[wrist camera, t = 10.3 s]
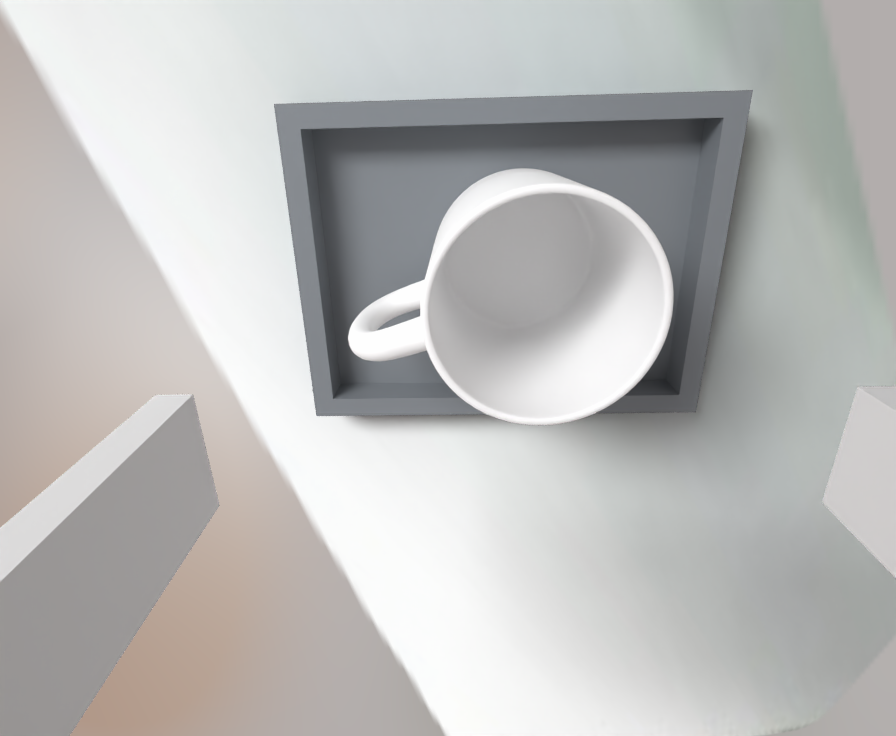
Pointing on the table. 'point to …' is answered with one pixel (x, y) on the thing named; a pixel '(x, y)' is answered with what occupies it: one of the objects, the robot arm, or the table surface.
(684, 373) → the grey tray
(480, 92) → the table surface
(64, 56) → the table surface
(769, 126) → the table surface
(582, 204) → the cup
